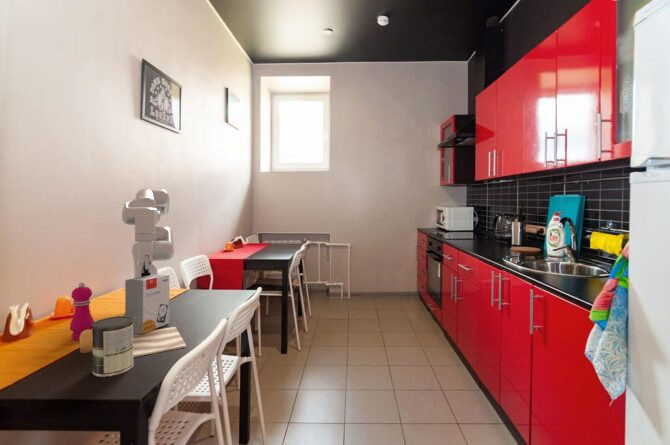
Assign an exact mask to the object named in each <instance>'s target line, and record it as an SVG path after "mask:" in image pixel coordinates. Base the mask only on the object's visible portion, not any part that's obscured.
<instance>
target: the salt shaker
mask: <svg viewBox="0 0 670 445" xmlns="http://www.w3.org/2000/svg"><path fill="white" fill-rule="evenodd" d="M79 352H80V353H81V354H85V353H90V352H93V345H92V329H91V330H90V329H87V330H84V331H83V332H82V333H81V335H80V340H79Z"/></svg>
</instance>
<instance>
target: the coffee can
mask: <svg viewBox="0 0 670 445" xmlns="http://www.w3.org/2000/svg"><path fill="white" fill-rule="evenodd" d="M91 330H92V345H93V351H92V375H94V376H95V377H100V378H104V377H105V378H107V376H108V377H113V375H114V376H119V375H121V374H123V373H126V372H128V371H130V370H131V369H132V368H133V367H134V357H133V318H132V317H128V316H125V315H124V316H123V315H119V316H111V317H110V316H109V317H106V318H101V319H98V320H96V321H94V323H92V329H91Z"/></svg>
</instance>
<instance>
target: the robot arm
mask: <svg viewBox="0 0 670 445" xmlns="http://www.w3.org/2000/svg"><path fill="white" fill-rule="evenodd" d="M169 210H170V195H169V192H168V191H167V190H165V189H159V188H158V189H156V188H154V189H153V188H152V189H151V188H144V189H140V190H138V191H137V192H136V194H135V199H132V200H129V201H127V202H125V203H124V204H123V206H122V212H121V219H122V222H123V223H124V224H125V225H127V226H134V244H133V245H132V246H131V254H132V260H133V266H134V267H133V270H134V274H133V275H134V278H139V277H144V276H150V275H159V273H158V269H157V267H156V266H155V265H154V263H153V262H160V261H170V260H172V259H173V258H174V255H175V246H174V235H173V230H172V229H171V227H168V226H157V224H158V223H159V222H160V221H161V217H162V216H165V215H167V214H168V213H169Z"/></svg>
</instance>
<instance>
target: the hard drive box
mask: <svg viewBox="0 0 670 445" xmlns="http://www.w3.org/2000/svg"><path fill="white" fill-rule="evenodd" d="M170 276H171V275H170V274H158V275H150V276H144V277H139V278H135V277H134V278H128V279H125V282H124V284H125V285H124V286H125V288H124V290H125V296H124V298H125V299H124V300H125V305H124V316H128V317H132V318H133V334H143V333H146V332H149V331H152V330H157V329H158V328H161V327H165V326H166V325H168V324H170Z"/></svg>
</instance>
